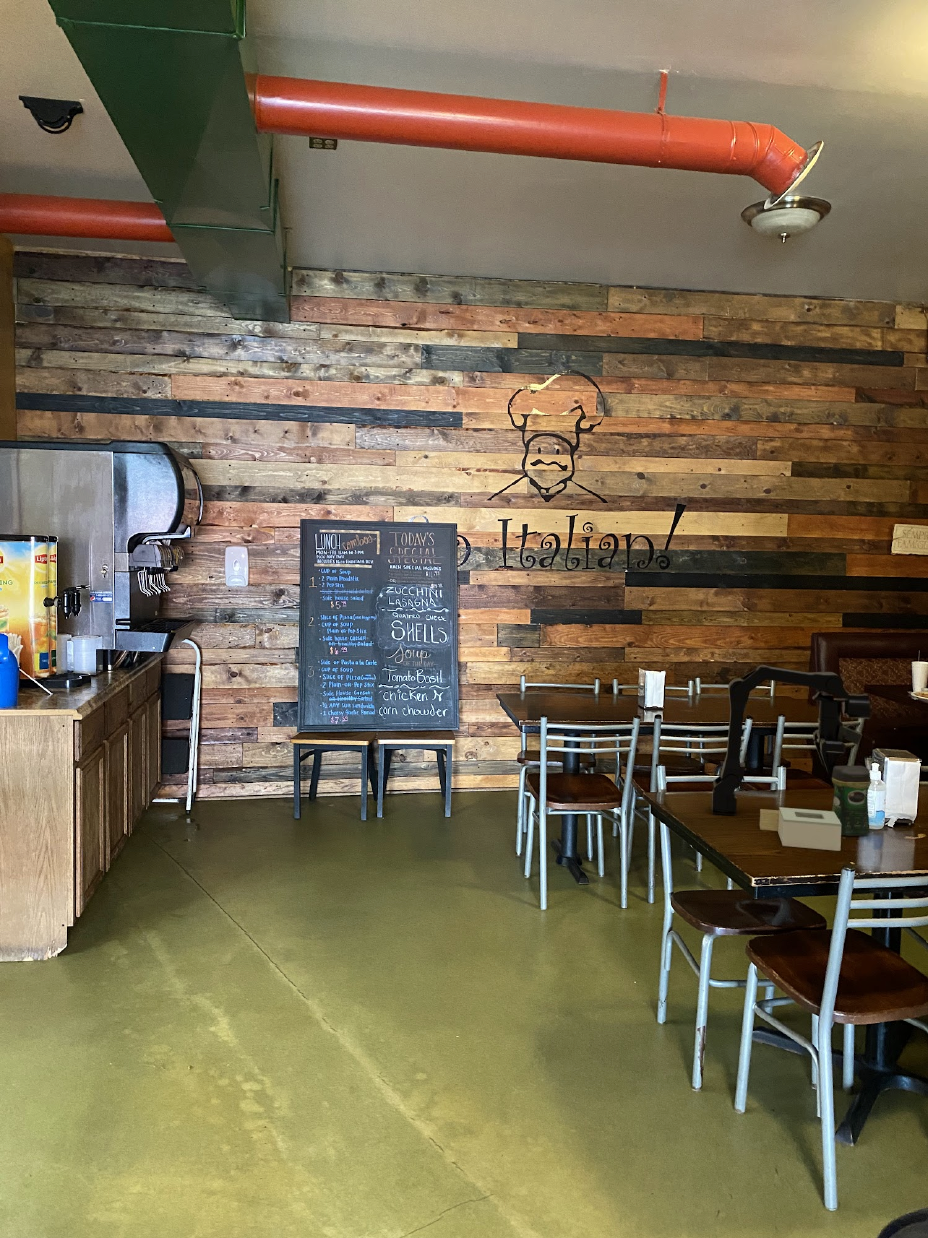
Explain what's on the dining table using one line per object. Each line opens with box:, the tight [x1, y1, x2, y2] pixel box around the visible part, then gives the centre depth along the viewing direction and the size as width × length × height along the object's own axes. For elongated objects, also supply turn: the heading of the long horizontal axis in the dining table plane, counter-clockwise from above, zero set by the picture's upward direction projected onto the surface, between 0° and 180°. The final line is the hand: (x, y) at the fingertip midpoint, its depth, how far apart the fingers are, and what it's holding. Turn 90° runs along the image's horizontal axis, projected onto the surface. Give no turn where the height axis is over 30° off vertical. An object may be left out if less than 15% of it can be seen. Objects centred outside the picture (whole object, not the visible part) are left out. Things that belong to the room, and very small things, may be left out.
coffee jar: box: [831, 765, 872, 837], centre depth 240 cm, size 10×8×19 cm
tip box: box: [777, 806, 842, 852], centre depth 232 cm, size 14×12×7 cm
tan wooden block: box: [759, 808, 779, 832], centre depth 243 cm, size 5×3×5 cm, turn 75°
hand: (827, 770), depth 250 cm, fingers open, 9 cm apart
